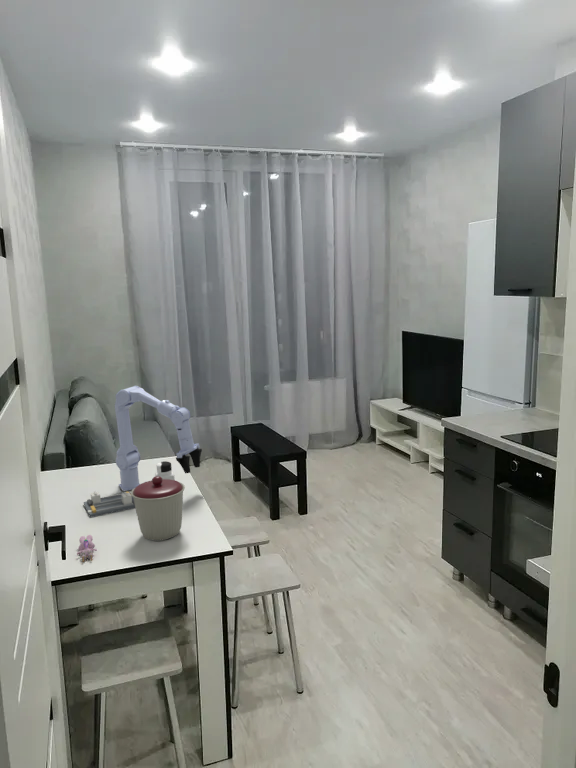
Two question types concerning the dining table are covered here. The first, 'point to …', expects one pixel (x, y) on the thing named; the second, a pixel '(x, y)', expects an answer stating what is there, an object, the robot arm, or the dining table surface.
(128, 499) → the tab
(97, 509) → the switch board
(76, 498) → the dining table surface
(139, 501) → the canister
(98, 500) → the tab
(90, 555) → the rabbit figure
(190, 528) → the dining table surface
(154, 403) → the robot arm
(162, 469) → the medicine bottle
